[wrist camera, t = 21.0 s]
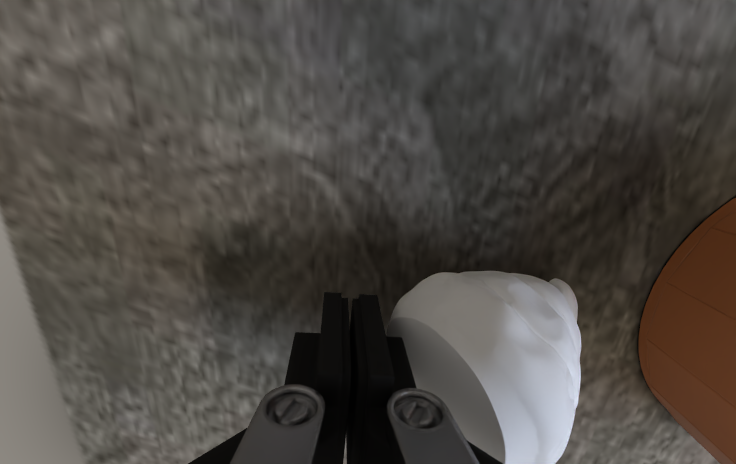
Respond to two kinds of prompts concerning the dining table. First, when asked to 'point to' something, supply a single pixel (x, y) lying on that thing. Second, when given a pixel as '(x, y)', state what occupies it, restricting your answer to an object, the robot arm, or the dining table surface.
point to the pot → (696, 335)
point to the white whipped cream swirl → (497, 358)
